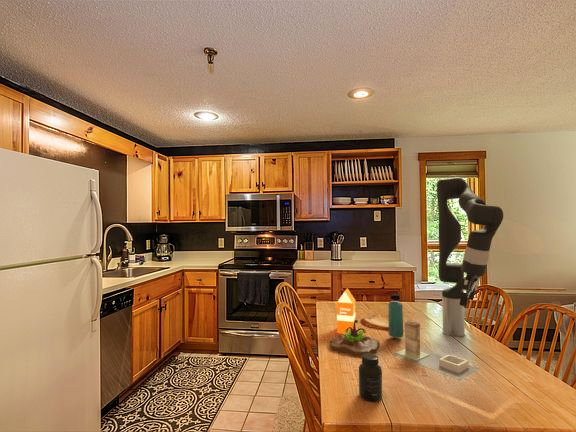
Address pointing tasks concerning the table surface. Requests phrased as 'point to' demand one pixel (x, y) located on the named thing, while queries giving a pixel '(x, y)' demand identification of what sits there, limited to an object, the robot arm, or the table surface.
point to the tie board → (441, 363)
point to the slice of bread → (376, 322)
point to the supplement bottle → (370, 378)
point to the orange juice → (345, 312)
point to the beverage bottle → (395, 317)
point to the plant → (354, 342)
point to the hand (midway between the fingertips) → (466, 302)
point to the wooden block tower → (412, 338)
